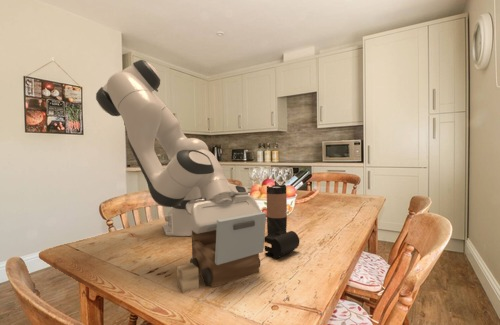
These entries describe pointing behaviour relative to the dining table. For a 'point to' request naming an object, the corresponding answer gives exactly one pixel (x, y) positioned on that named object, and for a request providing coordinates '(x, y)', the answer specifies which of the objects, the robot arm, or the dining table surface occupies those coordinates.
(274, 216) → the travel mug
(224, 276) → the tray
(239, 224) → the tailgate
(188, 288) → the beech block
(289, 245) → the end cap
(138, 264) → the dining table surface
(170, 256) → the dining table surface
